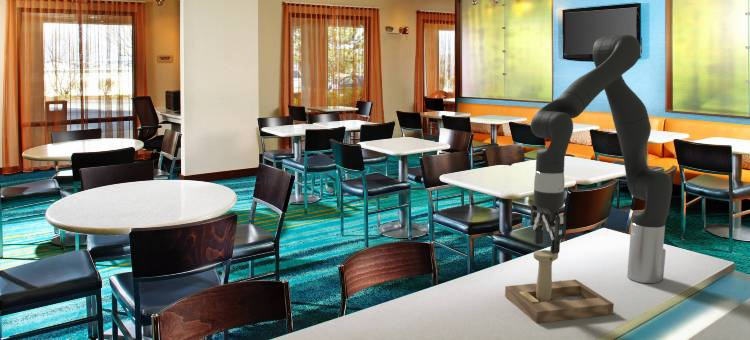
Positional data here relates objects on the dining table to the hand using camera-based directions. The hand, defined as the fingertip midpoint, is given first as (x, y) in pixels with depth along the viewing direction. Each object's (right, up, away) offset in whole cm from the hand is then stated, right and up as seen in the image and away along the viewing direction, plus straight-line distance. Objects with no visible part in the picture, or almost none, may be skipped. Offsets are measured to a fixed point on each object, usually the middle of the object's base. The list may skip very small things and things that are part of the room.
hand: (546, 248), depth 162 cm
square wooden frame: (+4, -16, +4) cm, 17 cm away
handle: (0, -16, +3) cm, 17 cm away
